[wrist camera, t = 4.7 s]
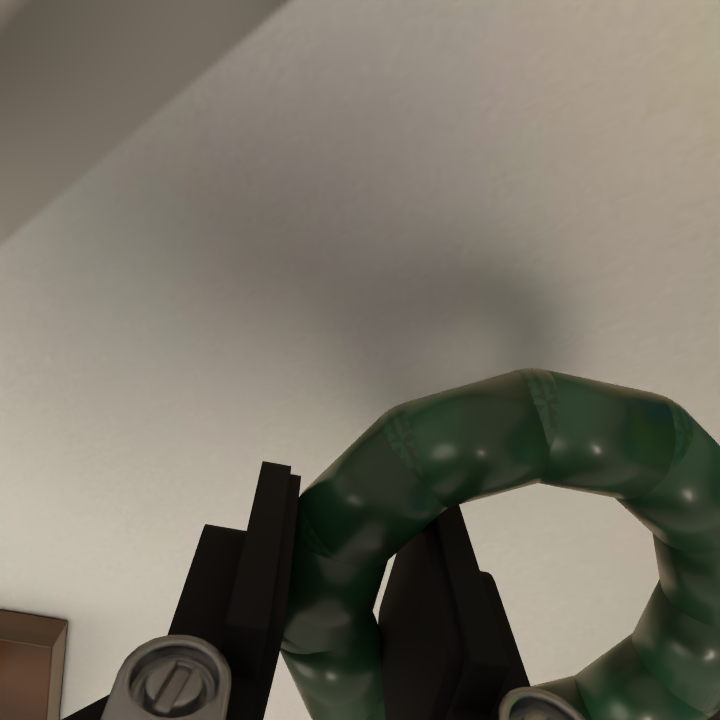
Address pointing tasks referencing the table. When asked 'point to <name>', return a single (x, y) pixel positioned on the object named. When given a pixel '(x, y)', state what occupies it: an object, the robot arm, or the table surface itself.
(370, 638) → the ring
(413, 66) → the table surface
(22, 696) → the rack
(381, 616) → the robot arm
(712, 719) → the round tray
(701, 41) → the table surface
